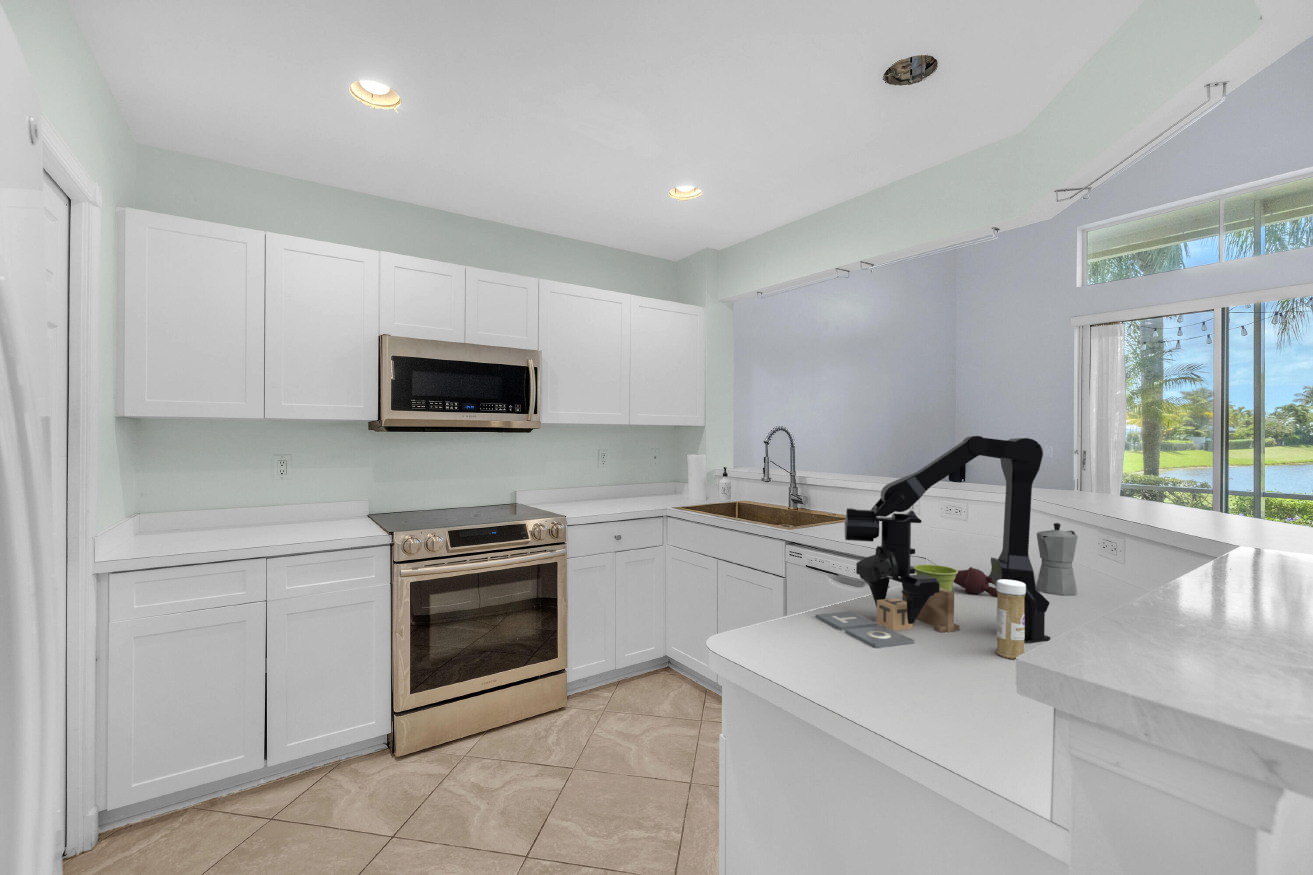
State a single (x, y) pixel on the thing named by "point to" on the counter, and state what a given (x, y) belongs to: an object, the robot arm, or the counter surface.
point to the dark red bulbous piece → (975, 581)
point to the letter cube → (893, 614)
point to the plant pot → (938, 574)
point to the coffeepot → (1057, 561)
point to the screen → (939, 611)
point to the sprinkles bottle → (1010, 618)
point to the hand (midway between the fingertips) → (894, 616)
